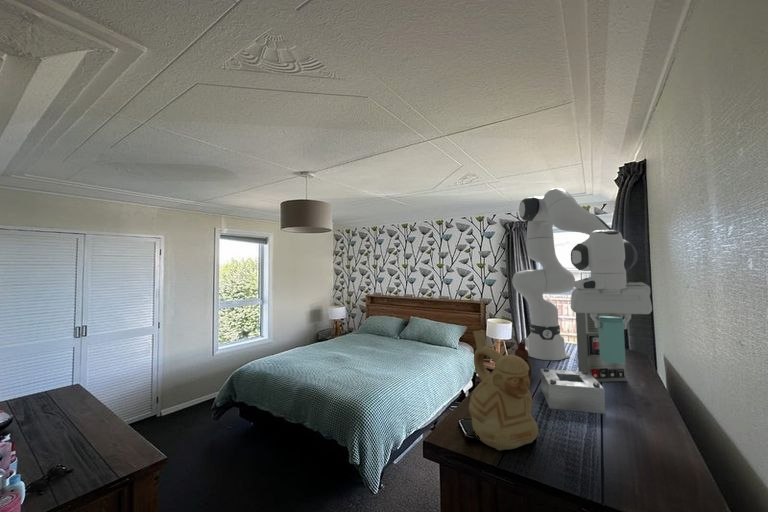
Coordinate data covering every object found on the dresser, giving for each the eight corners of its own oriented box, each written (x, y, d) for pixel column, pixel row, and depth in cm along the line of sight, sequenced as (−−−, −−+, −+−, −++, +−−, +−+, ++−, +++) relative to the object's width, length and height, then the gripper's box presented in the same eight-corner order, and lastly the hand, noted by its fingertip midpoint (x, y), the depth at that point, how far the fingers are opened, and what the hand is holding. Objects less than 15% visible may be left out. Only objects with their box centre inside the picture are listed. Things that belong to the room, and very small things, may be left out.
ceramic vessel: (496, 467, 67) (492, 348, 67) (451, 423, 85) (448, 330, 86) (561, 451, 71) (556, 340, 72) (505, 413, 90) (501, 325, 91)
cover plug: (597, 357, 99) (595, 315, 99) (620, 358, 97) (617, 316, 97) (604, 362, 93) (602, 319, 94) (628, 364, 91) (626, 319, 92)
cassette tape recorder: (588, 383, 110) (585, 311, 110) (578, 377, 116) (574, 308, 117) (628, 382, 110) (624, 309, 111) (615, 375, 116) (612, 307, 117)
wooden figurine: (533, 383, 111) (531, 340, 111) (516, 383, 112) (514, 340, 112) (528, 377, 117) (527, 336, 118) (512, 376, 118) (510, 336, 119)
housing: (541, 389, 105) (540, 366, 106) (589, 393, 101) (588, 370, 101) (549, 408, 92) (548, 382, 92) (605, 414, 88) (604, 386, 88)
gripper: (644, 281, 96) (647, 327, 95) (568, 282, 102) (570, 325, 102) (655, 282, 90) (657, 331, 89) (573, 283, 96) (575, 329, 96)
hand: (610, 328), depth 95 cm, fingers closed on cover plug, 5 cm apart
